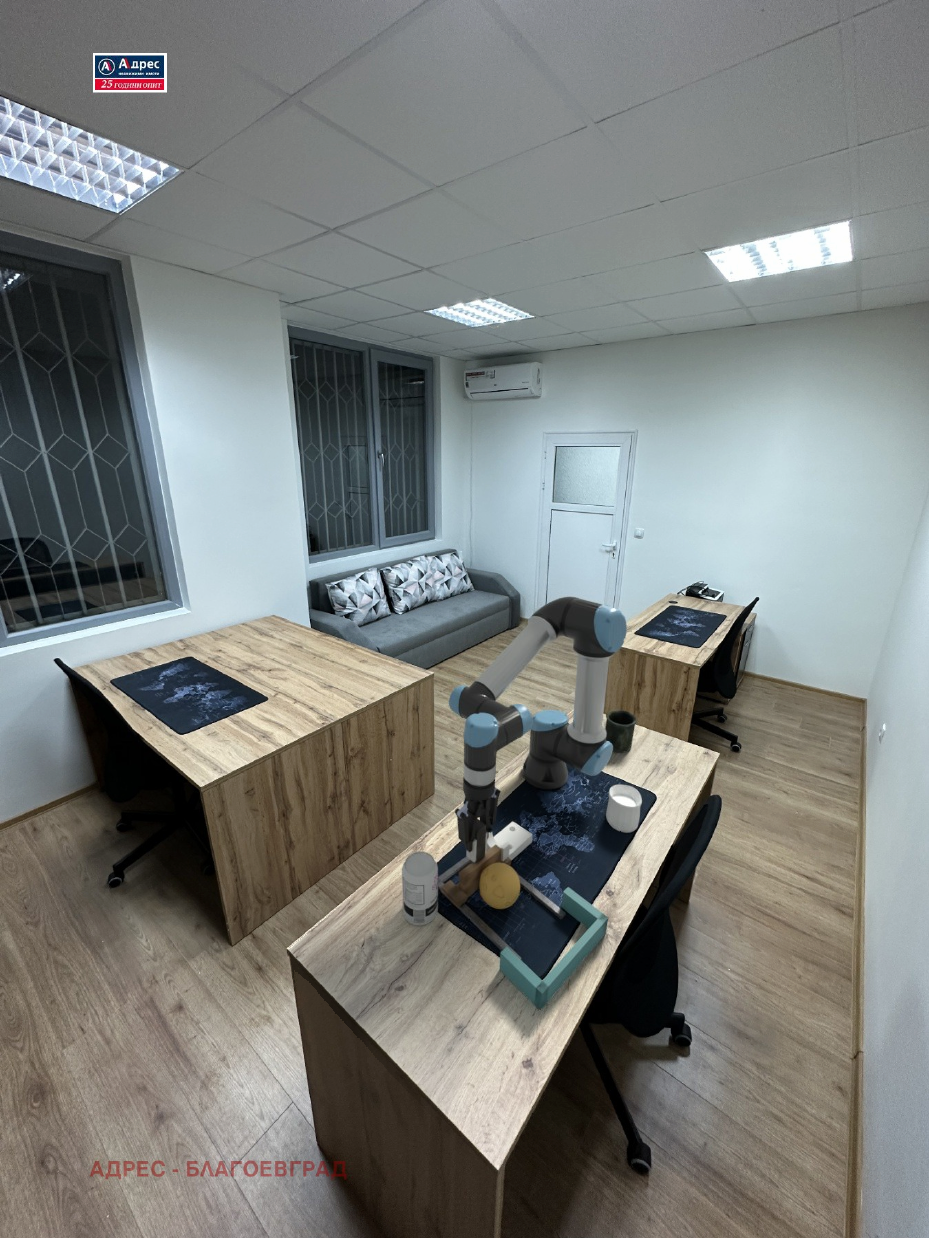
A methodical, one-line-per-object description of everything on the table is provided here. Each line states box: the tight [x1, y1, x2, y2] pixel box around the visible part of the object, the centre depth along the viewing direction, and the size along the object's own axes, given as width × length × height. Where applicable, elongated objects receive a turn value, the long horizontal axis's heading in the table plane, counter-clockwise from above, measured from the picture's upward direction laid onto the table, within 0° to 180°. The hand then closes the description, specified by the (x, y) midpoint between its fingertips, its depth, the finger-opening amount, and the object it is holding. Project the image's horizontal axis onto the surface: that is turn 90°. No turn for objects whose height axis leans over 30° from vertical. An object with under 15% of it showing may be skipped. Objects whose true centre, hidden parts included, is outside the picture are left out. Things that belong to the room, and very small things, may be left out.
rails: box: [438, 855, 566, 961], centre depth 120 cm, size 18×28×1 cm, turn 43°
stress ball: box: [479, 863, 521, 910], centre depth 118 cm, size 10×10×10 cm
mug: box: [604, 709, 638, 753], centre depth 182 cm, size 11×15×12 cm
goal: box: [499, 886, 609, 1012], centre depth 107 cm, size 24×11×5 cm, turn 133°
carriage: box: [440, 818, 512, 909], centre depth 122 cm, size 19×6×18 cm, turn 133°
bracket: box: [487, 821, 533, 862], centre depth 134 cm, size 13×7×8 cm, turn 136°
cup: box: [605, 784, 643, 834], centre depth 144 cm, size 10×10×10 cm
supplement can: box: [401, 851, 439, 926], centre depth 114 cm, size 8×8×15 cm
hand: (476, 854), depth 122 cm, fingers closed on carriage, 3 cm apart
